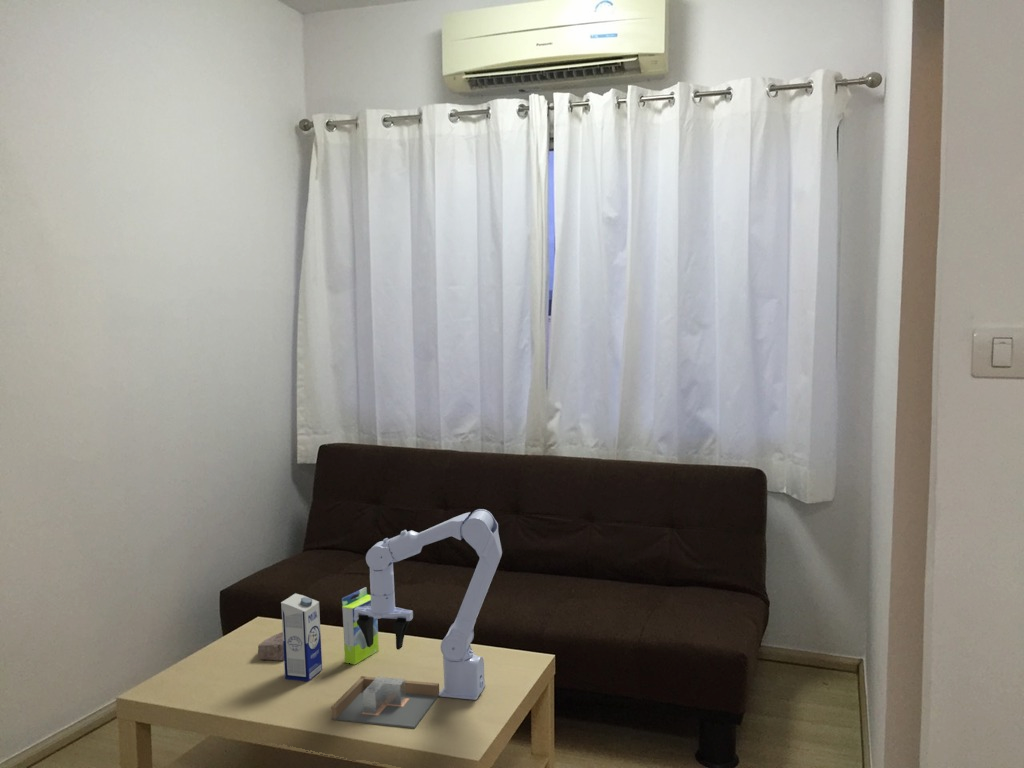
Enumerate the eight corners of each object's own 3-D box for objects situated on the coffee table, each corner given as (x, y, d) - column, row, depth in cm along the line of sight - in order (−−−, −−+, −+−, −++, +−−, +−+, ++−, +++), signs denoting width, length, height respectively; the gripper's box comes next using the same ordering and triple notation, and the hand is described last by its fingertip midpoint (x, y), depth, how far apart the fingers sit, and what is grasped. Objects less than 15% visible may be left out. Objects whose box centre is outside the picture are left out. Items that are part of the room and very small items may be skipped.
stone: (272, 643, 229) (271, 627, 228) (303, 644, 228) (302, 628, 227) (255, 661, 217) (254, 644, 217) (287, 662, 216) (286, 645, 216)
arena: (439, 695, 194) (439, 683, 194) (414, 728, 179) (414, 715, 179) (362, 687, 199) (361, 676, 199) (331, 719, 184) (331, 707, 184)
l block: (378, 696, 193) (377, 676, 193) (405, 699, 191) (405, 679, 191) (363, 713, 185) (362, 691, 185) (392, 716, 184) (391, 694, 183)
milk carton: (299, 667, 212) (295, 592, 210) (322, 669, 210) (319, 594, 209) (284, 679, 205) (280, 601, 204) (308, 681, 204) (304, 603, 202)
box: (355, 665, 212) (352, 601, 211) (342, 662, 214) (340, 598, 213) (380, 650, 221) (377, 588, 220) (368, 647, 223) (365, 586, 222)
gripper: (347, 595, 195) (350, 651, 196) (404, 599, 191) (406, 655, 192) (360, 586, 202) (362, 639, 203) (415, 589, 198) (417, 643, 199)
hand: (384, 646), depth 198 cm, fingers open, 7 cm apart
